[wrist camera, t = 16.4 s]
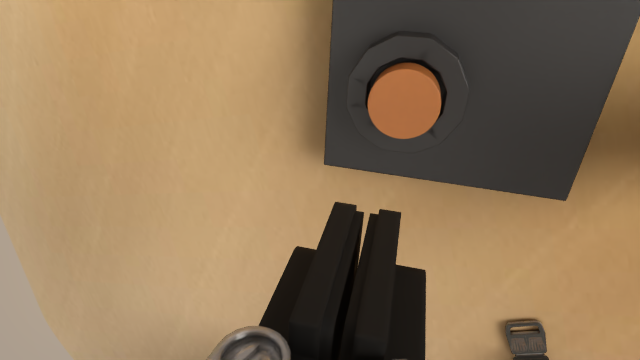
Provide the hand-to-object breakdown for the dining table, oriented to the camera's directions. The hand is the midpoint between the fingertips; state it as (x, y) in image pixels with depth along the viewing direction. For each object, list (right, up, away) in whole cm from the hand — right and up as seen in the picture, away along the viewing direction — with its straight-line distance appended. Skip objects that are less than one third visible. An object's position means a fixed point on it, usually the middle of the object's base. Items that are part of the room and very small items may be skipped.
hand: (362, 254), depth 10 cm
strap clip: (+18, -13, +25) cm, 34 cm away
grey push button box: (+8, +8, +16) cm, 20 cm away
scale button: (+4, +7, +13) cm, 15 cm away
